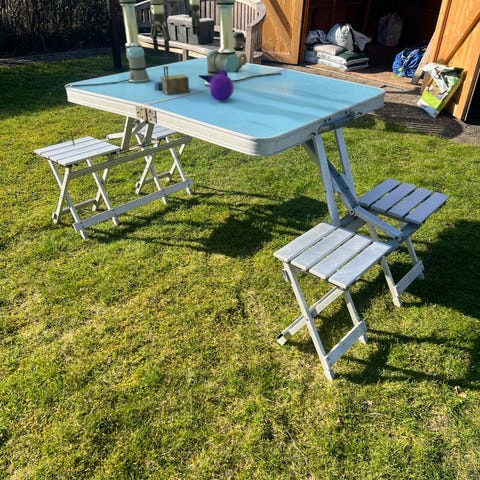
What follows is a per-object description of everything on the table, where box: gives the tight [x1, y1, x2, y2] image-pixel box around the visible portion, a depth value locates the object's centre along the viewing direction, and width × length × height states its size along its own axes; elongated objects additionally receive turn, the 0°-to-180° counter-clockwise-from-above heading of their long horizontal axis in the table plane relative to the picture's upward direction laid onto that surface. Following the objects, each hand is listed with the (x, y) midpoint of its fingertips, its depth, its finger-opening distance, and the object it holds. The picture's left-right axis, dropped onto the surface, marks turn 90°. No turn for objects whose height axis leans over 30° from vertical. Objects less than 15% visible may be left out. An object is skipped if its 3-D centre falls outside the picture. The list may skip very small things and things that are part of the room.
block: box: [154, 80, 163, 91], centre depth 311 cm, size 5×5×5 cm
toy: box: [198, 70, 235, 102], centre depth 281 cm, size 16×18×27 cm
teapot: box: [234, 52, 248, 72], centre depth 364 cm, size 21×12×15 cm, turn 120°
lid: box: [160, 64, 189, 81], centre depth 298 cm, size 16×11×8 cm
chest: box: [161, 78, 190, 96], centre depth 303 cm, size 15×11×9 cm
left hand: (196, 35), depth 349 cm, fingers open, 13 cm apart
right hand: (161, 52), depth 274 cm, fingers open, 13 cm apart
